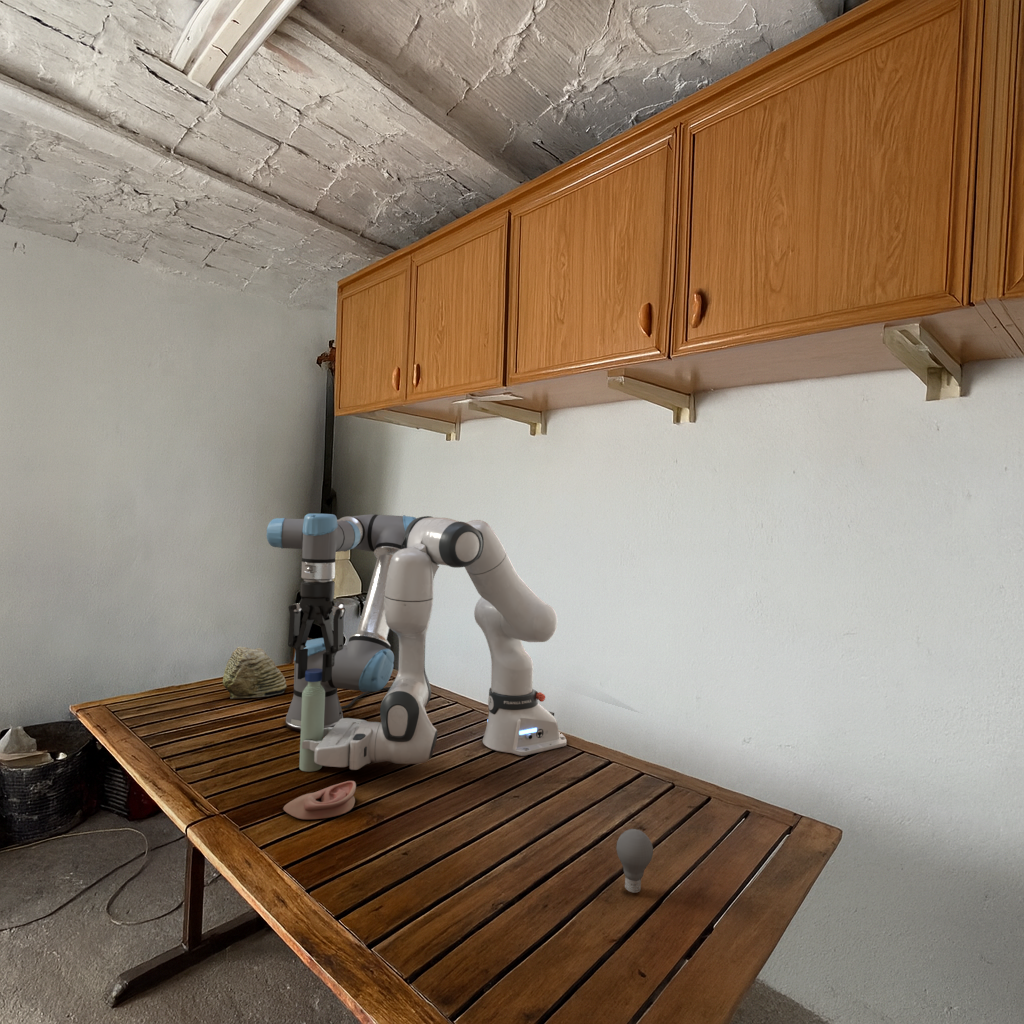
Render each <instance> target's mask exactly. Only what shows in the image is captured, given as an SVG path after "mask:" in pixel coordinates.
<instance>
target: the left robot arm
mask: <svg viewBox="0 0 1024 1024" xmlns="http://www.w3.org/2000/svg"><path fill="white" fill-rule="evenodd" d="M416 518H417V517H416V516H410V515H409V516H408V515H405V514H404V515H392V514H376V513H375V514H374V513H373V514H372V513H371V514H370V513H368V514H360V515H352V516H350V515H349V516H348V515H347V516H343V517H340V518H339V519H338V518H337V516H336V515H335V514H333V513H307V514H306V515H304V517H303V518H287V517H282V518H281V517H277V518H276V517H275V518H273V519H271V520H270V521H269V522H268V525H267V527H266V540H267V542H268V544H269V545H270V546H271V547H273V548H278V549H290V550H292V549H293V550H301V551H302V555H301V576H300V578H301V579H302V580H301V582H300V597H301V599H300V600H299V602H298V603H296V602H295V603H293V604H292V603H291V604H289V605H288V611H289V626H288V637H287V646H288V647H289V648H293V649H294V650H295V652H294V653H295V654H294V659H293V661H294V672H293V695H292V696H293V697H292V699H291V702H290V704H289V708H288V711H287V713H286V715H285V726H286V728H287V729H289V730H291V731H294V732H295V731H296V732H301V711H302V692H303V690H304V689H305V687H306V686H307V685H308V681H306V680H305V671H306V670H308V669H313V668H318V669H322V681H320V684H321V685H322V687H323V688H324V690H325V710H324V728H327V727H334V726H335V725H336V724H337V722H338V721H339V720H340V719H343V718H344V714H343V710H345V709H349V708H350V707H351V706H353V705H354V704H355V702H356V701H358V700H359V699H361V698H363V697H365V696H367V695H370V694H373V693H377V692H382V691H389V689H390V688H391V686H387V684H388V683H389V681H390V678H391V677H392V674H393V671H394V666H395V665H394V664H395V663H394V662H395V655H394V652H393V651H392V650H391V644H390V642H389V641H388V637H389V636H388V635H389V633H390V628H389V627H388V625H387V624H386V619H385V610H384V598H385V586H386V579H387V573H388V568H389V564H390V561H391V558H392V556H393V554H394V553H395V552H397V551H399V550H401V549H402V547H401V544H402V542H403V539H404V534H405V531H406V529H407V527H408V525H409V524H410V523H411V522H412V521H413V520H414V519H416ZM403 548H404V546H403ZM352 549H354V550H360V551H365V552H373V555H374V557H375V558H376V562H375V566H374V569H373V573H372V576H371V580H370V583H369V586H368V591H367V594H366V598H365V600H364V601H365V602H364V605H363V609H362V612H361V615H360V618H359V622H358V626H357V630H356V633H354V634H352V635H350V636H349V638H348V641H347V644H346V645H345V644H344V617H345V614H346V612H347V611H346V607H340V606H337V605H336V604H335V602H334V597H335V585H336V583H335V581H334V579H336V556H337V555H336V554H337V553H338V552H348V551H350V550H352ZM301 612H302V613H303V615H302V618H301ZM331 614H332V616H333V618H331ZM332 619H333V622H332ZM315 621H317V622H318V625H319V626H320V631H321V634H322V635H321V636H322V637H318V638H313V639H308V638H309V635H310V632H311V628H312V626H313V623H314V622H315ZM331 622H332V623H333V624H332V623H331ZM331 624H332V625H331ZM332 626H333V627H332ZM332 628H333V629H332ZM338 689H339V690H340V689H341V690H347V691H348V690H349V691H359V692H362V693H361V694H358V696H356V697H354V698H353V699H352V700H351V701H350V702H349V703H348V704H346V705H341V702H340V699H339V695H338Z"/></svg>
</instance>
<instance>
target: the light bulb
mask: <svg viewBox="0 0 1024 1024" xmlns="http://www.w3.org/2000/svg"><path fill="white" fill-rule="evenodd" d="M615 849H616V854H617V857H618V859H619V861H620V863H621V865H622V867H623V873H624V874H623V875H624V876H625V878H624V888H625V890H627V891H628V892H630V893H634V894H635V893H639V892H640V891H641V889H642V887H641V886H642V879H643V877H644V875H645V871H646V868H647V867H648V866H649V864H650V863H651V861H652V859H653V855H654V847H653V843H652V841H651V838H649V836H648V835H647V834H646V833H645V832H643V831H642V830H641V829H636V828H629V829H627V830H625V831H623V832H622V833H621V834H620V835H619V837H618V839H617V841H616V847H615Z"/></svg>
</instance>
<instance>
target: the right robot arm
mask: <svg viewBox="0 0 1024 1024" xmlns="http://www.w3.org/2000/svg"><path fill="white" fill-rule="evenodd" d="M415 518H416V519H414V520H413V521H412V522H411V523H410V524H409V525H408V527H407V529H406V531H405V534H404V539H403V542H402V544H401V547H402V549H401V550H399V551H397V552H395V553H394V554H393V556H392V558H391V561H390V564H389V568H388V573H387V579H386V586H385V598H384V610H385V619H386V624H387V625H388V627H389V630H391V631H392V632H393V633H394V634H396V635H397V638H398V646H399V647H398V670H397V674H396V676H395V678H394V680H393V681H392V683H391V686H390V687H391V688H390V689H389V690H387V692H386V694H385V695H384V697H383V699H382V700H381V702H380V707H379V708H380V709H379V715H380V722H379V721H367V720H365V719H359V718H352V717H343V719H340V720H339V721H338V722H337V724H336V725H335V726H334V727H327V728H324V736H323V740H322V741H317V742H316V741H312V739H305V740H304V741H303V742H302V748H303V749H310V750H312V751H314V752H315V754H314V762H315V763H316V764H318V765H321V766H322V767H330V768H332V767H333V768H347V767H348V768H349V770H351V771H357V770H360V769H361V768H363V767H365V766H367V765H370V764H371V763H378V764H379V763H384V762H390V763H393V764H397V765H418V764H424V763H428V762H429V761H430V760H431V759H432V757H433V754H434V752H435V747H436V744H437V739H438V729H437V728H436V727H435V726H434V724H433V723H432V722H431V720H430V718H429V716H428V714H427V710H426V707H427V705H428V704H429V702H430V701H431V697H432V686H431V684H430V681H429V678H428V676H427V673H426V666H425V665H426V640H427V639H426V638H427V634H428V633H427V632H428V630H429V625H430V622H431V619H432V614H433V613H432V612H433V606H434V592H435V591H434V590H435V588H434V585H435V584H434V579H435V576H436V574H437V571H438V569H439V568H440V566H441V565H442V566H447V567H451V568H454V569H455V568H456V569H457V568H458V569H459V568H464V569H465V571H466V573H467V574H468V577H469V578H470V580H471V582H472V584H473V586H474V587H475V590H476V592H477V593H478V595H479V596H480V597H479V599H478V600H477V602H476V604H475V606H474V610H473V611H474V613H473V616H474V620H475V623H476V624H477V625H478V626H479V628H480V630H481V631H482V633H483V634H484V637H485V639H486V643H487V646H488V650H489V654H490V663H491V665H490V666H491V667H490V669H491V670H490V671H491V672H490V673H491V674H490V675H491V676H490V687H489V689H488V699H487V705H488V717H487V719H486V720H487V723H486V727H485V730H484V733H483V737H482V744H483V745H484V746H485V747H486V748H488V749H491V750H493V751H496V752H502V753H509V754H514V755H516V756H521V757H524V756H528V755H534V754H537V753H542V752H546V751H550V750H555V749H560V748H563V747H566V746H567V745H568V743H567V741H568V740H567V738H566V736H565V735H564V734H563V733H562V732H560V731H559V724H558V721H557V719H556V717H555V712H554V711H549V710H547V709H546V708H545V707H544V706H542V705H541V704H540V703H539V702H541V703H542V702H544V701H545V700H546V695H545V694H544V693H543V692H539V691H537V690H536V689H534V687H533V686H534V685H533V683H534V661H533V659H532V657H531V656H530V654H529V653H528V652H527V651H526V649H525V647H524V645H523V642H526V643H545V642H549V640H551V639H552V638H553V636H554V635H555V633H556V631H557V628H558V623H559V622H558V621H559V620H558V615H557V612H556V610H555V609H554V607H553V606H551V605H550V604H548V603H546V601H544V600H542V599H541V598H540V597H539V596H538V595H537V594H536V593H535V592H534V591H533V590H532V589H531V588H530V587H529V586H528V585H527V583H526V582H525V581H524V580H523V579H522V577H521V576H520V575H519V574H518V572H517V570H516V568H515V567H514V565H513V563H512V561H511V559H510V557H509V554H508V553H507V551H506V548H505V547H504V545H503V543H502V541H501V539H500V538H499V536H498V535H497V534H496V532H495V530H494V529H493V528H492V527H491V526H490V525H489V523H487V522H486V521H484V520H481V519H472V520H469V521H467V522H465V521H459V520H456V519H452V518H448V517H438V516H437V517H436V516H435V517H434V516H429V515H426V516H420V517H415ZM403 546H404V548H403ZM439 565H440V566H439ZM560 733H561V734H560Z"/></svg>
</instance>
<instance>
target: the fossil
mask: <svg viewBox="0 0 1024 1024" xmlns="http://www.w3.org/2000/svg"><path fill="white" fill-rule="evenodd" d="M222 676H223V677H222V685H223V687H224V688H225V690H226V691H228V693H229V698H230V699H250V698H264V697H271V696H275V695H281V694H284V693H285V691H286V689H287V687H288V686H287V680H286V678H285V676H284V674H283V673H282V672H281V669H279V668H278V667H277V665H276V663H275V662H274V660H273V659H272V658H271V657H270V656H269V655H268V654H267V653H266V652H265V650H264V649H263V648H260V647H258V648H251V647H247V646H246V647H245V646H238V647H237V648H236V649H235V650H233V651H232V653H231V656H230V657H229V659H228V660H227V663H226V666H225V668H224V671H223V675H222Z"/></svg>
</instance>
